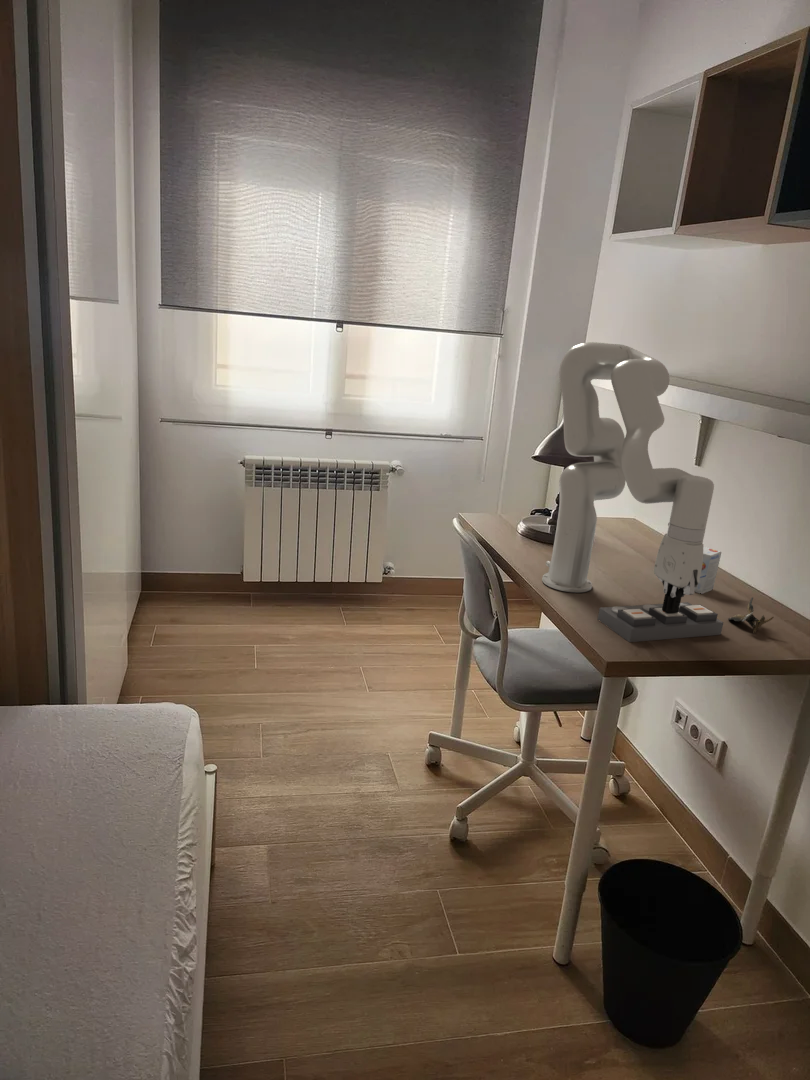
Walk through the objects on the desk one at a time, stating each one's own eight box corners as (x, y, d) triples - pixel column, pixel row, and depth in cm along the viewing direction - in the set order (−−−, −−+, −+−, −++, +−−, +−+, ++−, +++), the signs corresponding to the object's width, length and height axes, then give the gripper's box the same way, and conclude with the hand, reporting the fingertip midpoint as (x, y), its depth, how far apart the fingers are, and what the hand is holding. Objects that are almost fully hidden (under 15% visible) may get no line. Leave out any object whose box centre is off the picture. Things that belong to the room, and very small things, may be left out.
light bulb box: (664, 581, 208) (672, 543, 205) (676, 577, 213) (684, 540, 210) (702, 594, 201) (711, 555, 198) (713, 589, 206) (722, 551, 202)
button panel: (597, 619, 177) (600, 601, 176) (685, 613, 186) (689, 595, 185) (629, 642, 167) (633, 622, 165) (720, 634, 176) (725, 615, 174)
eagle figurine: (777, 629, 179) (754, 607, 187) (771, 607, 175) (749, 586, 183) (747, 644, 179) (725, 622, 187) (741, 623, 176) (719, 601, 183)
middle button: (652, 615, 175) (654, 607, 174) (668, 614, 176) (670, 606, 176) (665, 623, 171) (667, 615, 170) (681, 621, 173) (683, 614, 172)
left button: (621, 616, 172) (622, 609, 171) (637, 615, 173) (639, 608, 173) (633, 624, 168) (635, 617, 167) (650, 623, 169) (651, 616, 169)
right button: (683, 612, 178) (684, 605, 177) (698, 611, 180) (700, 604, 179) (696, 620, 174) (697, 612, 174) (711, 619, 176) (713, 611, 175)
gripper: (649, 523, 173) (635, 600, 178) (695, 544, 160) (678, 626, 165) (676, 523, 176) (661, 598, 181) (724, 543, 162) (706, 624, 168)
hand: (670, 611), depth 173 cm, fingers closed
